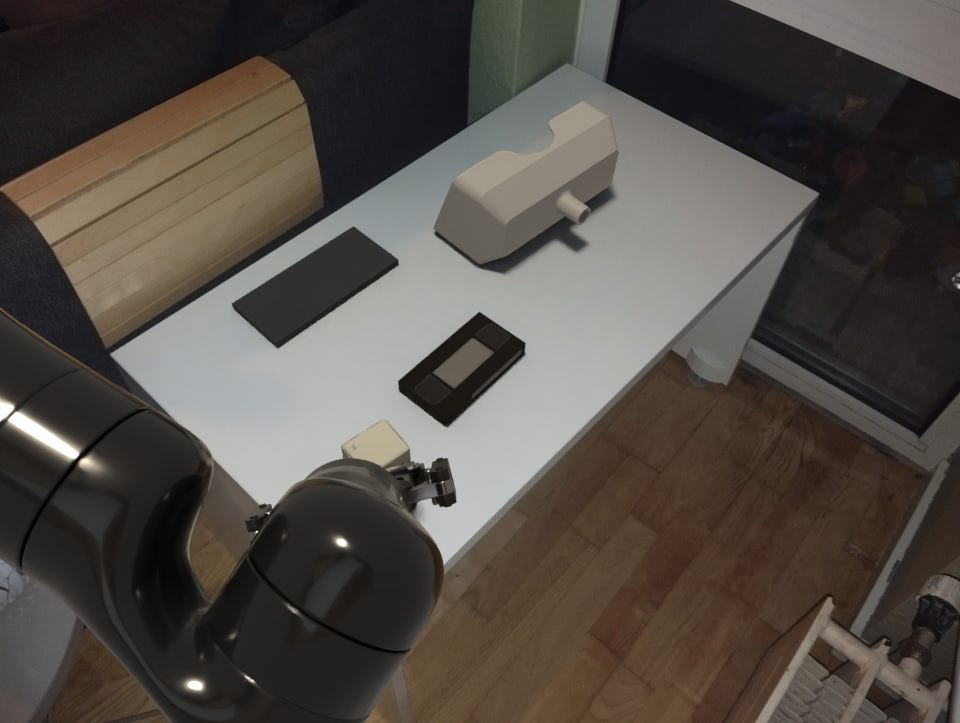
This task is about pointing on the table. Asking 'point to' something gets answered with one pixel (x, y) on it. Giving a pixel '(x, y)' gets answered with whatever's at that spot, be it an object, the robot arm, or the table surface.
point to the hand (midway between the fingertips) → (360, 488)
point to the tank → (530, 187)
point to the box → (378, 446)
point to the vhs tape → (461, 368)
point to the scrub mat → (314, 286)
